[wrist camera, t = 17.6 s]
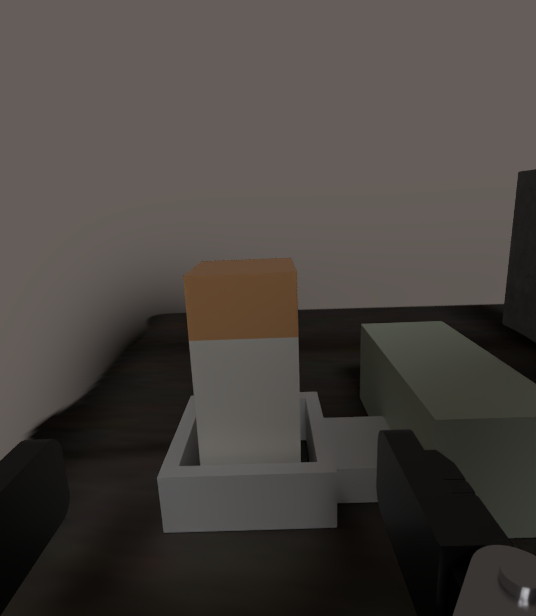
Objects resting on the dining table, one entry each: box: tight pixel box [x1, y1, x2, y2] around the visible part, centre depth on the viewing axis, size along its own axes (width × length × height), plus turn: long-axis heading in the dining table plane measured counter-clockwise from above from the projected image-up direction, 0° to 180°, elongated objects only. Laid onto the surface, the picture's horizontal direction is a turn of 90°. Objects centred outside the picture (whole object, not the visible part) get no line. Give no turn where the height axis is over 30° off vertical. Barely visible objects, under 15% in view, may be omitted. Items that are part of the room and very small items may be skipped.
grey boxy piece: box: [157, 321, 536, 538], centre depth 24 cm, size 18×14×6 cm
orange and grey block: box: [183, 258, 301, 466], centre depth 22 cm, size 5×5×12 cm
